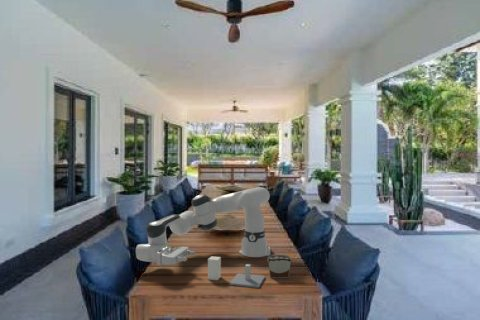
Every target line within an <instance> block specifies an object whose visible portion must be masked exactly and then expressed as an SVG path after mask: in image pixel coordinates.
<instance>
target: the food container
mask: <svg viewBox="0 0 480 320" xmlns="http://www.w3.org/2000/svg"><path fill="white" fill-rule="evenodd" d="M267 263H268V270H269V278H270V279H271V278H272V279H278V278H279V279H280V278H281V279H283V278H284V279H286V278H287V279H289V278H290V271H291V263H293V260H292V257H291V256H289V255H286V254H272V255H271V254H270V255H269V256H267ZM277 277H278V278H277Z"/></svg>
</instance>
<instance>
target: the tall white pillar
mask: <svg viewBox="0 0 480 320" xmlns="http://www.w3.org/2000/svg"><path fill="white" fill-rule="evenodd" d="M221 266H222V257H221V256H210V257H209V258H207V280H212V281H218V280H219V279H220V278H221V277H222V275H221V274H222V273H221V272H222V267H221Z"/></svg>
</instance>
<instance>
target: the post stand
mask: <svg viewBox="0 0 480 320" xmlns="http://www.w3.org/2000/svg"><path fill="white" fill-rule="evenodd" d="M251 267H252V266H251V264H250V263H249V264H248V263H247V264H245V266H244V273H239V272H238V273H236V275H235V276H234V277H233V278H232V280H231V281H230V282H229V286H234V285H235V286H236V287H242V288H243V287H244V288H245V287H246V288H253V289H254V288H255V289H260V287H261V285H262V283H264V280H265V279H266V276H265V275H259V274H252V273H251V271H252V270H251ZM235 286H234V287H235Z"/></svg>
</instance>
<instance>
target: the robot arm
mask: <svg viewBox="0 0 480 320" xmlns="http://www.w3.org/2000/svg"><path fill="white" fill-rule="evenodd" d="M270 196H271V195H270V191H269V190H268V189H267V188H265V187H259V186H258V187H257V186H256V187H253V188H250V189H245V190H244V189H243V190H241V191H235V192H232V193H228V194H227V193H226V194H222V195H219V196H217V197H215V198H212V197H211V196H209V195H206V194H198V195H196V196H195V197H193V198H192V199H191V206H192V209H193V210H185V211H184V212H181V213H180V214H170V215H167V216H164V217H163V218H160V219H158V220H154V221H151V222H149V223H148V224H147V226H146V228H145V231H146V236H147V241H148V242H147V243H140V244H137V245H136V248H135V258H136V259H137V260H139V261H142V262H149V263H151V262H152V263H153V262H155V263H156V264H157V266H165V265H166V266H171V265H175V264H176V263H179V262H186V261H188V255H189V256H194V255H195V254H196V253H195V251H194V250H193V251H191V250H190V247H189V246H175V247H173V248H172V247H171V245H168V240H167V227H169V228H170V230H171V232H172V233H173V234H175V235H177V236H184V235H186V234H187V233H189V232H190V231H191V230H192V229H193V228H194V227H195V226H196V227H197V228H198V229H200V230H203V231H210V230H213V229H214V228H216V227H217V225H218V220H217V217H216V214H228V213H232V212H238V211H242V210H243V214H244V219H245V222H244V232H243V234H244V237H243V238H242V239H241V249H240V250H239V251H238V253H239V254H241V255H242V256H244V257H249V258H262V257H269V256H271V247H270V246H268V244H267V243H268V241H267V238H266V231H265V218H264V214H262V211H261V206H264V205H265V204H267V203H268V201H269V200H270Z"/></svg>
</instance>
